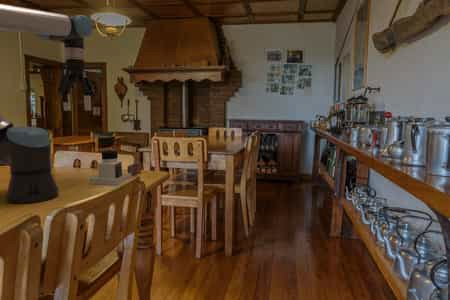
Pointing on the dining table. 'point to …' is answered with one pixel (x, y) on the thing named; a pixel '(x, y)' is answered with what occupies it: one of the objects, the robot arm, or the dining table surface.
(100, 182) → the tray
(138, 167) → the rack
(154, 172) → the dining table surface
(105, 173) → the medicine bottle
